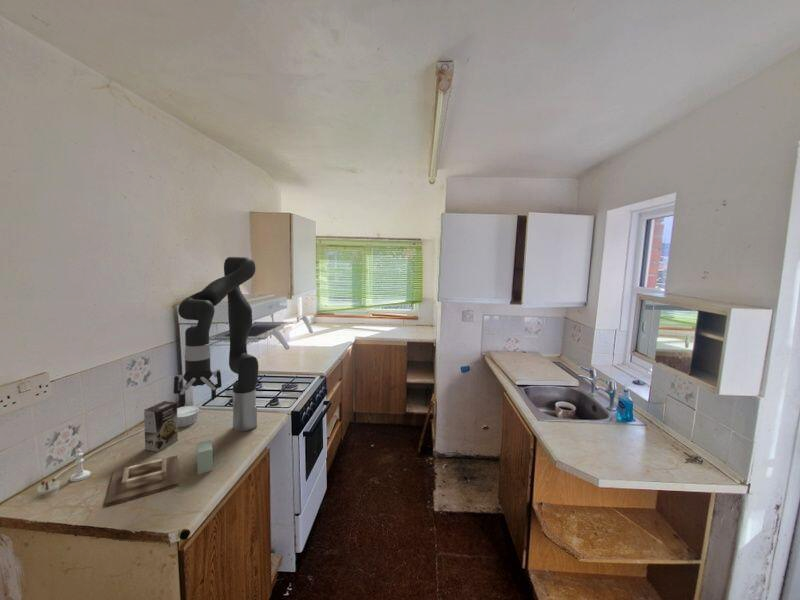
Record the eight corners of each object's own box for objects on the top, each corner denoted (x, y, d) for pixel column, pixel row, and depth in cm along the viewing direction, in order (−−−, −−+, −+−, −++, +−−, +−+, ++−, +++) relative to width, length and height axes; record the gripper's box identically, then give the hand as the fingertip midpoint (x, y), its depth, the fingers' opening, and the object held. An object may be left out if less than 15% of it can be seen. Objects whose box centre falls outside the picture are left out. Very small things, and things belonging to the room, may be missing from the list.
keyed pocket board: (177, 457, 124) (177, 448, 123) (178, 485, 109) (177, 475, 108) (114, 473, 113) (113, 463, 113) (105, 506, 99) (105, 495, 98)
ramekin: (189, 429, 144) (188, 417, 144) (163, 427, 144) (163, 416, 144) (204, 417, 155) (204, 406, 155) (181, 415, 156) (180, 405, 155)
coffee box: (158, 452, 126) (157, 412, 125) (144, 449, 128) (142, 409, 126) (178, 440, 135) (177, 402, 133) (165, 437, 136) (164, 400, 135)
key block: (211, 460, 123) (210, 439, 122) (212, 470, 117) (212, 449, 117) (196, 463, 121) (196, 443, 120) (198, 474, 115) (197, 452, 114)
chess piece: (79, 472, 113) (77, 444, 112) (94, 472, 114) (92, 444, 112) (65, 481, 108) (63, 452, 107) (82, 481, 109) (80, 452, 108)
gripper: (220, 352, 122) (221, 394, 123) (173, 356, 114) (174, 401, 116) (221, 357, 115) (222, 402, 117) (172, 362, 108) (173, 409, 110)
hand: (198, 401), depth 116 cm, fingers open, 8 cm apart
